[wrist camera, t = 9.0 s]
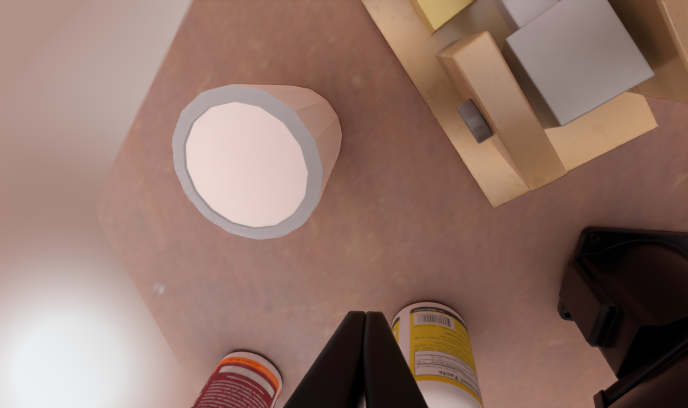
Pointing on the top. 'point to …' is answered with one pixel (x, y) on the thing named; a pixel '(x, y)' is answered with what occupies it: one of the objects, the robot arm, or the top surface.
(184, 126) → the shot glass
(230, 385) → the pill bottle
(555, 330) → the top surface
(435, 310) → the supplement bottle
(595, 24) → the lever
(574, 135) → the butter cutter
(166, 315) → the top surface
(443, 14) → the butter
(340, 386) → the robot arm
